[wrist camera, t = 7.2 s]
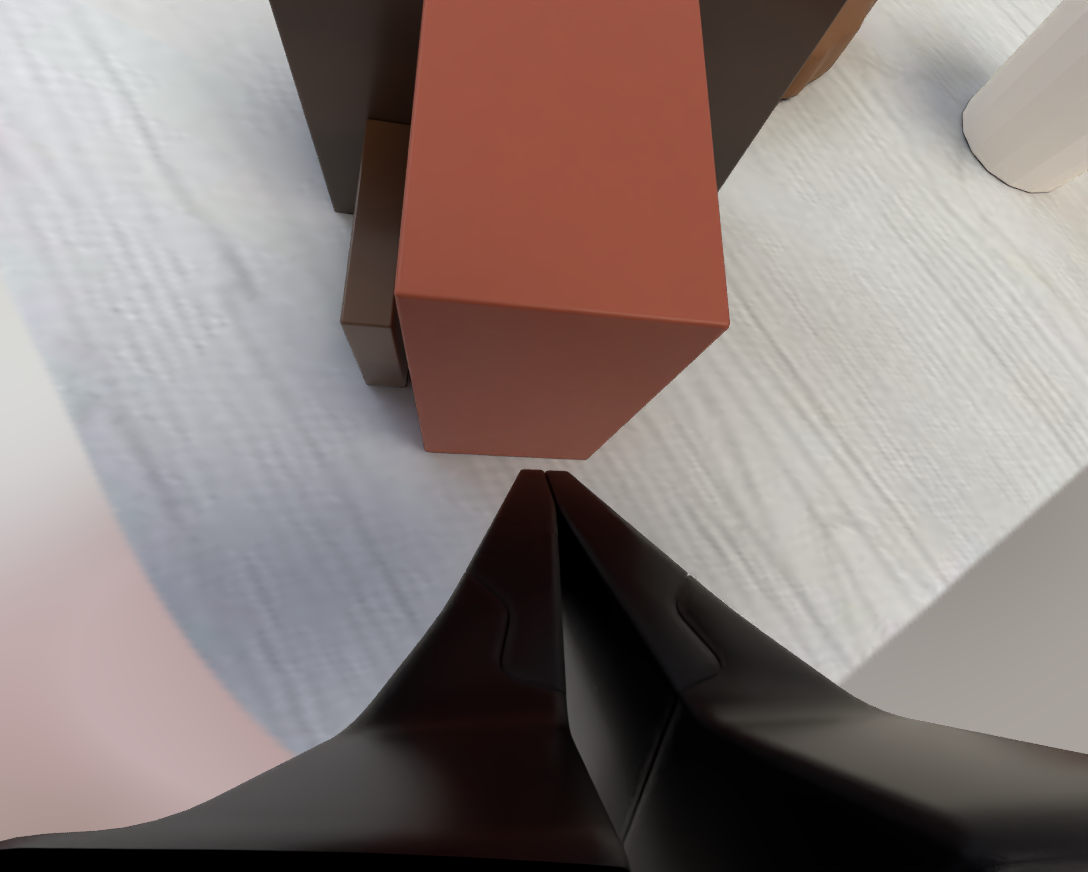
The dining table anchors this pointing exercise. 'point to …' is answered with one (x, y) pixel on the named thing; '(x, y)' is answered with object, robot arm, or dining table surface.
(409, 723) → the robot arm
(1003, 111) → the shot glass
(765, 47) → the dock
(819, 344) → the dining table surface
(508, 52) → the orange rectangular block
